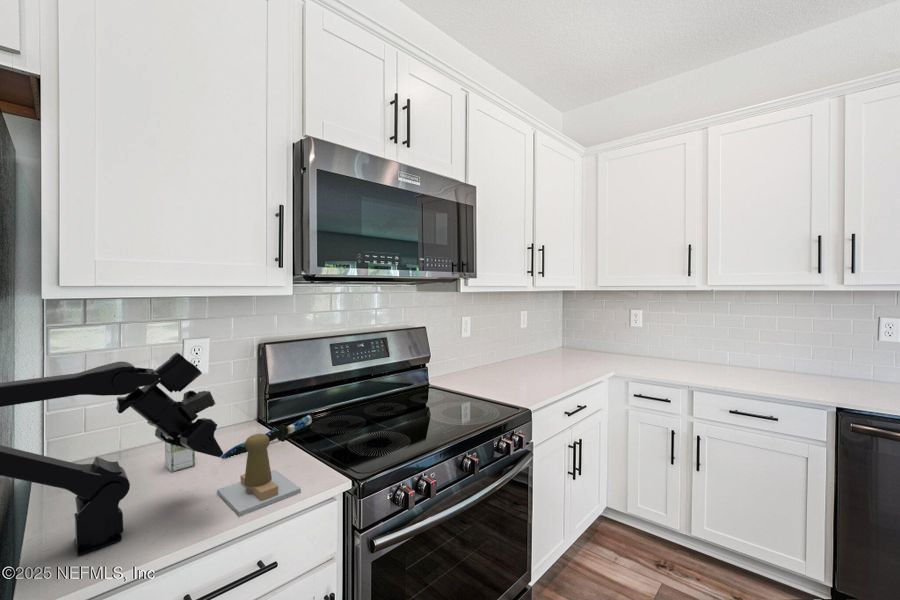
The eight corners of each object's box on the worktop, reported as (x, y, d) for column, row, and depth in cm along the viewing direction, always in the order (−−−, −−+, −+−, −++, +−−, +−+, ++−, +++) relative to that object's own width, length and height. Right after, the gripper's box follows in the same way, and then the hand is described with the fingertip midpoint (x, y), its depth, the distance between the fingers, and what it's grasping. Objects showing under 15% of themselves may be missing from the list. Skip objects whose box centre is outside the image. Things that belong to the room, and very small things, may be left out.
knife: (313, 424, 141) (311, 412, 140) (318, 426, 139) (316, 414, 138) (218, 464, 118) (216, 449, 117) (222, 467, 116) (220, 452, 115)
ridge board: (239, 516, 88) (238, 503, 88) (217, 493, 98) (216, 481, 97) (300, 492, 98) (300, 480, 98) (275, 473, 108) (275, 462, 108)
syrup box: (189, 459, 116) (188, 409, 115) (195, 466, 112) (194, 414, 111) (165, 466, 112) (163, 414, 111) (171, 473, 108) (169, 419, 107)
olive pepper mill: (255, 489, 94) (254, 442, 93) (238, 483, 96) (237, 437, 96) (277, 478, 99) (276, 433, 98) (260, 472, 102) (260, 429, 101)
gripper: (209, 380, 85) (258, 426, 93) (174, 378, 97) (221, 420, 104) (163, 425, 78) (220, 471, 85) (131, 417, 89) (184, 459, 97)
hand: (212, 452), depth 93 cm, fingers open, 9 cm apart
